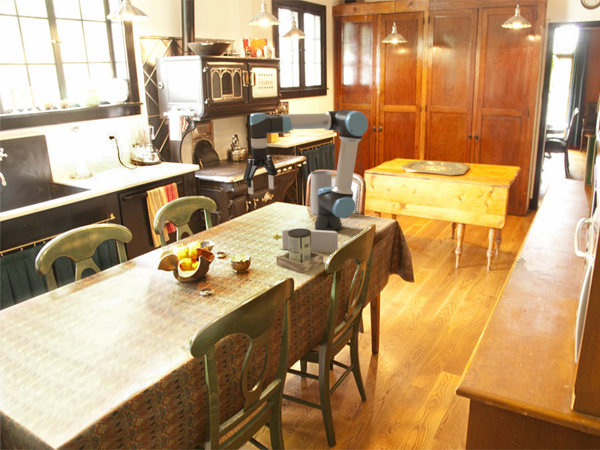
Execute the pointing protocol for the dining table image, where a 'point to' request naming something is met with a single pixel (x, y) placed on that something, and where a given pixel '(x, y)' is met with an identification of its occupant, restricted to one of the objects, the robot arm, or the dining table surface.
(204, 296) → the dining table surface
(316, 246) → the decorative sign
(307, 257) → the coffee can
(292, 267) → the square tray
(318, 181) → the cylinder vase
